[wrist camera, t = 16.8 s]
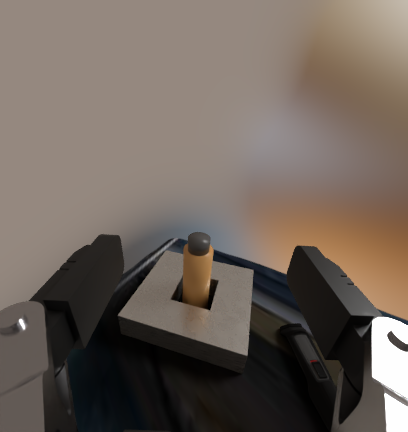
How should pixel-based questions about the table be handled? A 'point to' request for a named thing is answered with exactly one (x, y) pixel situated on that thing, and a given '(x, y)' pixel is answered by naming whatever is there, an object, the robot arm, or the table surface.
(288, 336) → the electric trimmer
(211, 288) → the grey square-holed plate
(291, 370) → the table surface
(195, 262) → the plug
